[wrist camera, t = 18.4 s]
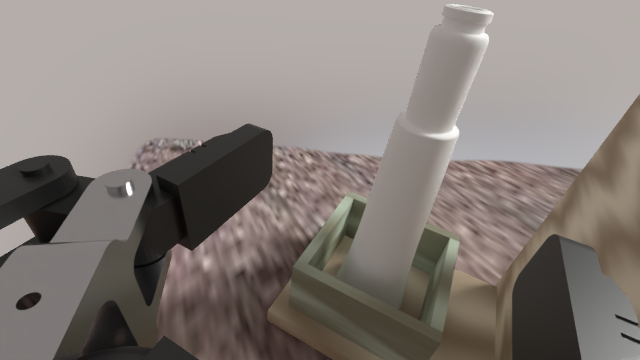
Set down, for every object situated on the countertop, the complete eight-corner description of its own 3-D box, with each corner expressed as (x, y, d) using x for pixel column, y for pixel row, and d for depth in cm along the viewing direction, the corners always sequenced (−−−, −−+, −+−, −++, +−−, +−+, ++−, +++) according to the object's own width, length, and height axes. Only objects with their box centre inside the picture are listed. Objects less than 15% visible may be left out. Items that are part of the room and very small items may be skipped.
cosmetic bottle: (405, 327, 25) (569, 30, 12) (331, 313, 25) (411, 5, 12) (399, 267, 30) (511, 9, 17) (337, 255, 30) (399, -8, 17)
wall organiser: (335, 223, 36) (379, 8, 23) (503, 298, 30) (689, 68, 17) (248, 347, 24) (235, 39, 11) (500, 510, 18) (1118, 278, 5)
